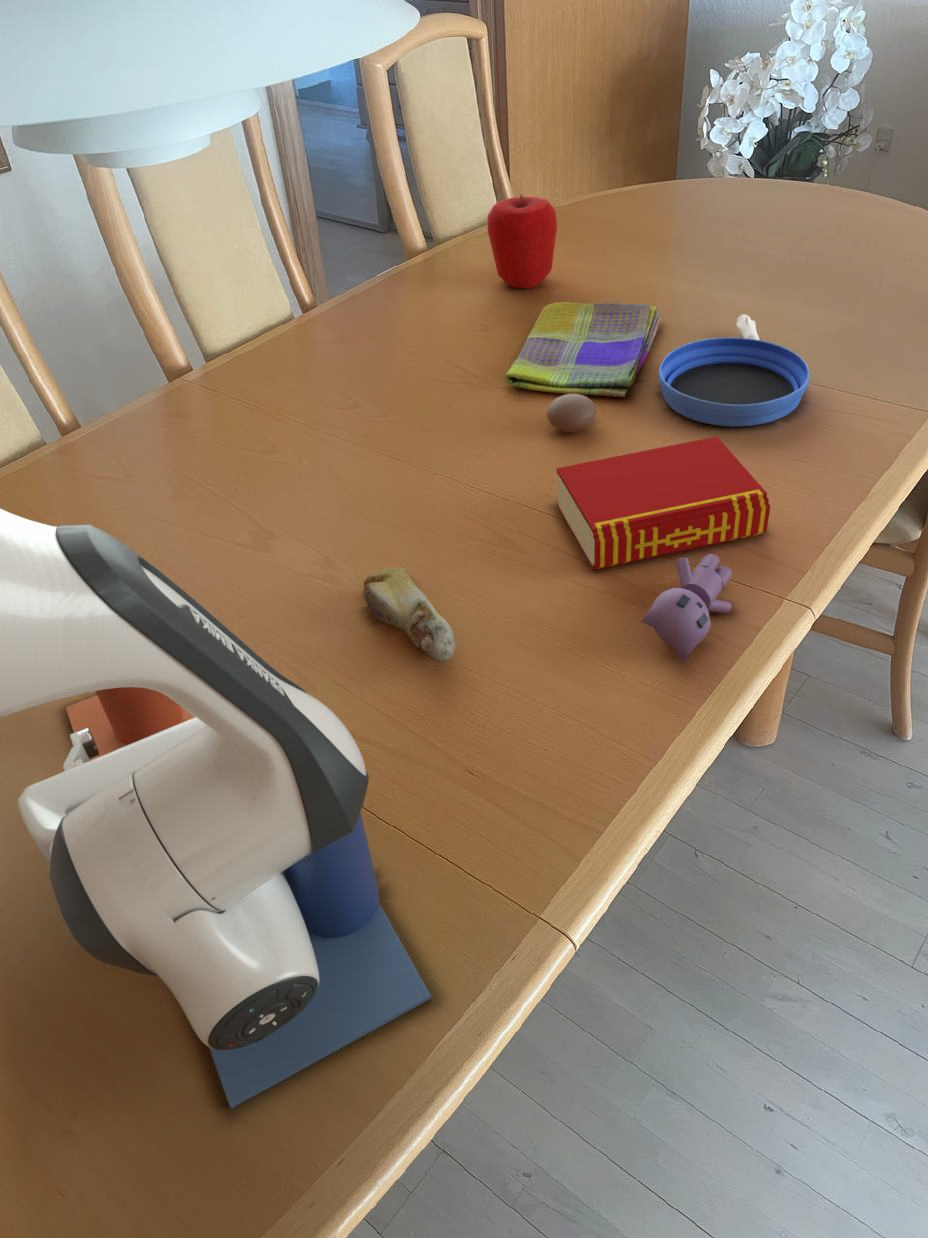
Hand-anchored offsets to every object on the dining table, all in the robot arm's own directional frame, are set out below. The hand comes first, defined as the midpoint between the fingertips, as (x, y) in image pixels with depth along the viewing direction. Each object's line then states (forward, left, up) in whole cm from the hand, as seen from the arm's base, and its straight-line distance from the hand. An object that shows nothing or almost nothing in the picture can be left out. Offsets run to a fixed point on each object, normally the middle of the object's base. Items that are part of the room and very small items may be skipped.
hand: (141, 712), depth 78 cm
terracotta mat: (0, +6, -7) cm, 9 cm away
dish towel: (+71, +43, -7) cm, 83 cm away
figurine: (+48, -9, -7) cm, 49 cm away
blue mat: (+3, -23, -7) cm, 24 cm away
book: (+55, +5, -7) cm, 56 cm away
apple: (+78, +70, -7) cm, 105 cm away
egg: (+59, +27, -7) cm, 65 cm away
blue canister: (+8, -20, -7) cm, 22 cm away
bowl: (+79, +22, -7) cm, 83 cm away
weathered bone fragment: (+25, +4, -7) cm, 26 cm away
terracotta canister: (0, +6, -7) cm, 9 cm away
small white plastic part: (+91, +33, -7) cm, 97 cm away
